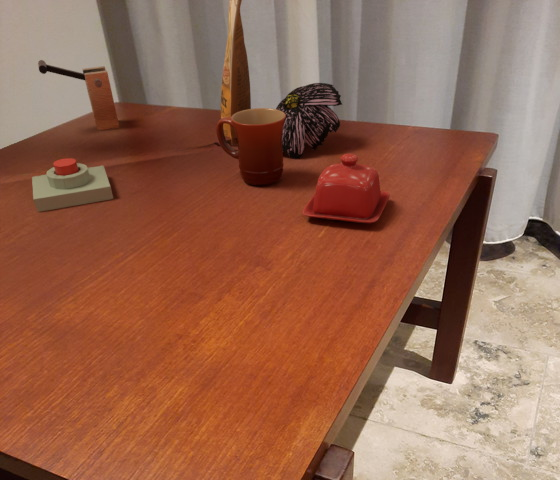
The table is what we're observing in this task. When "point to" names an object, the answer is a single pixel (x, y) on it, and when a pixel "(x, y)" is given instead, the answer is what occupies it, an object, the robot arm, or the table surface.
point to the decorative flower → (308, 117)
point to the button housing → (71, 188)
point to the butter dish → (348, 193)
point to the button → (65, 166)
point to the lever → (59, 70)
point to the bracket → (101, 98)
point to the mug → (256, 144)
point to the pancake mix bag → (235, 72)
